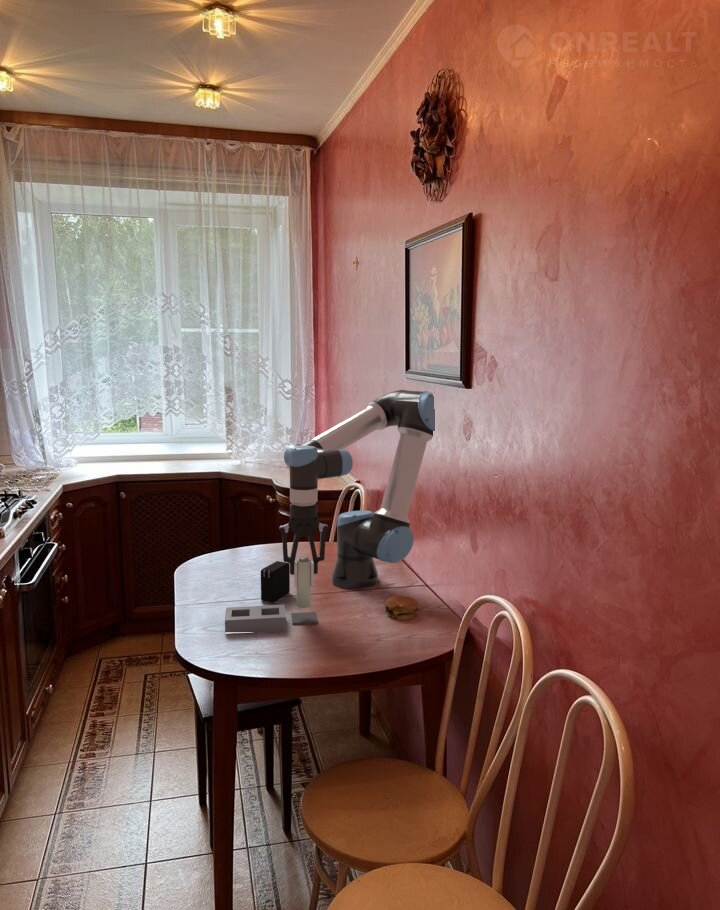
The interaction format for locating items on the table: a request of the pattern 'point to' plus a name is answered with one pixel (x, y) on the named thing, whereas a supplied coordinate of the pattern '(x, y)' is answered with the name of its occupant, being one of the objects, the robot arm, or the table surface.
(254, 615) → the gray cinder block
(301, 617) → the coaster
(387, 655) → the table surface
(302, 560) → the plug
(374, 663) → the table surface
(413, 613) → the burger
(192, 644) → the table surface
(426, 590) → the table surface
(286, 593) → the electronic device
